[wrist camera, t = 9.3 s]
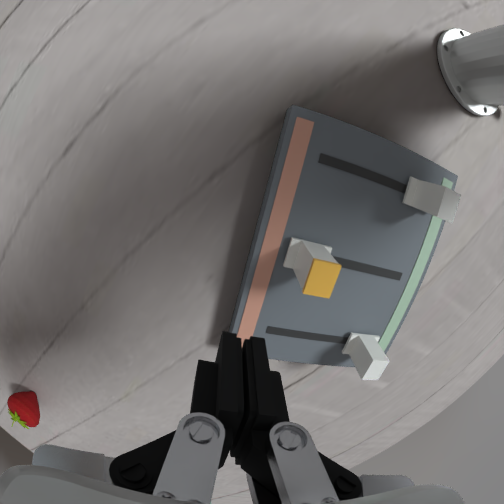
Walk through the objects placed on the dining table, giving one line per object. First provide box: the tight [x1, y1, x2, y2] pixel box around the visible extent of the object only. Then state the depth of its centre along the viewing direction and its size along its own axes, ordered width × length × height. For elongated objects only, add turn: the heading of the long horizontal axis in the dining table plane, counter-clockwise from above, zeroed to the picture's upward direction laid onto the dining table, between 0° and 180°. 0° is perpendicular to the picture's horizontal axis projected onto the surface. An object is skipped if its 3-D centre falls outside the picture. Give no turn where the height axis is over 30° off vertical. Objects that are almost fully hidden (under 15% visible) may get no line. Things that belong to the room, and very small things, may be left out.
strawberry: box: [7, 391, 40, 429], centre depth 33 cm, size 6×8×10 cm
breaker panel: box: [229, 105, 458, 367], centre depth 29 cm, size 20×26×3 cm
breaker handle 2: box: [402, 176, 461, 223], centre depth 23 cm, size 4×3×5 cm
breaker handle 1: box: [342, 333, 389, 380], centre depth 28 cm, size 4×3×5 cm
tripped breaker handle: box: [283, 237, 342, 299], centre depth 24 cm, size 4×3×5 cm
